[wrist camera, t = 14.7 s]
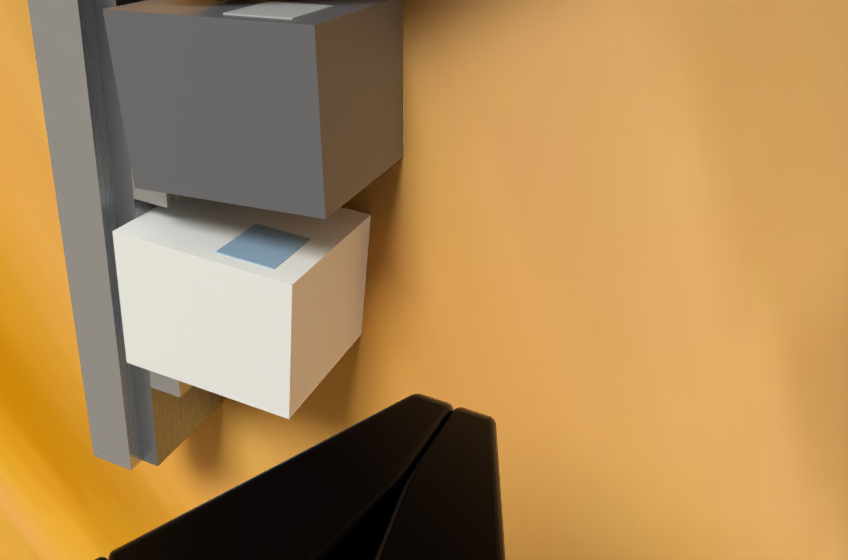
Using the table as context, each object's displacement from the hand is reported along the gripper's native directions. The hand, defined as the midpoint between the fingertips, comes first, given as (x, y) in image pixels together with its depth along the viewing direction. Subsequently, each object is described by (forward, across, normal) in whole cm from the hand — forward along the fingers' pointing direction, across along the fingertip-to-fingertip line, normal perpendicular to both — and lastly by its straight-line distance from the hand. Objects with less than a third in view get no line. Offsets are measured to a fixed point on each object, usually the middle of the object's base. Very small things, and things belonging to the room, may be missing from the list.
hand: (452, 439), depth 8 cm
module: (+12, +8, +6) cm, 16 cm away
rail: (+12, +12, +6) cm, 18 cm away
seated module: (+12, +8, 0) cm, 14 cm away
